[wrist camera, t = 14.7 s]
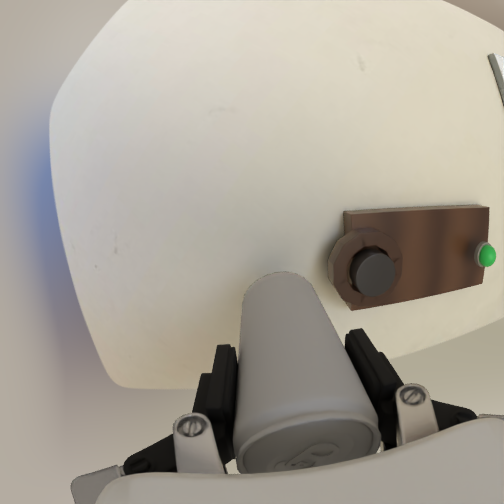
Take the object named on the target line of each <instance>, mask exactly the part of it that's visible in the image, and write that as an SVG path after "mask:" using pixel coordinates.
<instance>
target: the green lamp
mask: <svg viewBox="0 0 504 504" xmlns="http://www.w3.org/2000/svg"><path fill="white" fill-rule="evenodd" d="M474 259H475V263H476V264H477V265H478V266H480V267H488V266H491V265H492V264H493V263H494V262H495V259H496V252H495V250H494V248H493V247H492V246H491V245H490V244H489V243H488V242H485V241H483V242H481V243H479V244H478V246H477V248H476V250H475V254H474Z"/></svg>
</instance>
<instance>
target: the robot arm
mask: <svg viewBox="0 0 504 504" xmlns="http://www.w3.org/2000/svg"><path fill="white" fill-rule="evenodd" d="M345 350H346V352H347V354H348V356H349V358H350V360H351V362H352V364H353V366H354V368H355V370H356V372H357V374H358V376H359V378H360V380H361V382H362V384H363V386H364V388H365V391H366V393H367V395H368V397H369V399H370V401H371V403H372V405H373V407H374V410H375V412H376V414H377V416H378V430H379V431H380V433H381V444H380V447H381V452H380V453H376V454H373V455H369V456H365V457H361V458H357V459H353V460H349V461H344V462H340V463H335V464H330V465H324V466H318V467H312V468H306V469H298V470H290V471H281V472H270V473H254V474H228V472H227V469H226V466H225V464H227V463H228V462H230V461H231V460H232V459H236V456H235V454H234V448H233V428H234V414H235V399H236V385H237V370H238V363H237V357H236V351H235V347H231V346H230V344H225V345H217V349H216V354H215V359H214V364H213V369H212V373H202V374H201V377H200V381H199V385H198V389H197V393H196V398H195V402H194V406H193V410H192V413H188V414H185V415H182V416H181V417H179V418H178V419H177V420H176V421H175V423H174V424H173V434H171V435H169V436H168V437H166V438H164V439H162V440H160V441H158V442H157V443H155V444H153V445H151V446H149V447H147V448H145V449H143V450H141V451H139V452H137V453H135V454H133V455H131V456H130V457H128V458H127V460H126V461H125V462H124V465H123V466H120V467H118V466H117V465H114V466H111V467H109V468H105V469H102V470H99V471H95V472H92V473H89V474H85V475H81V476H79V477H77V478H75V479H74V480H73V481H72V483H71V492H72V495H73V498H74V501H75V504H504V415H490V414H489V415H488V414H479V416H476V414H475V413H474V412H473V411H472V410H470V409H467V408H463V407H459V406H454V405H450V404H446V403H442V402H438V401H434V400H431V398H430V395H429V392H428V391H427V389H426V388H425V387H423V386H421V385H419V384H412V383H411V384H405V385H404V384H403V382H402V381H401V379H400V378H399V376H398V375H397V373H396V371H395V370H394V368H393V367H392V365H391V364H390V362H389V361H388V359H387V358H386V356H385V355H384V354H383V352H378V351H377V350H376V348H375V347H374V345H373V344H372V342H371V341H370V339H369V338H368V336H367V335H366V333H365V332H364V330H363V329H362V328H360V329H354V330H350V332H349V334H346V337H345Z"/></svg>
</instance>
